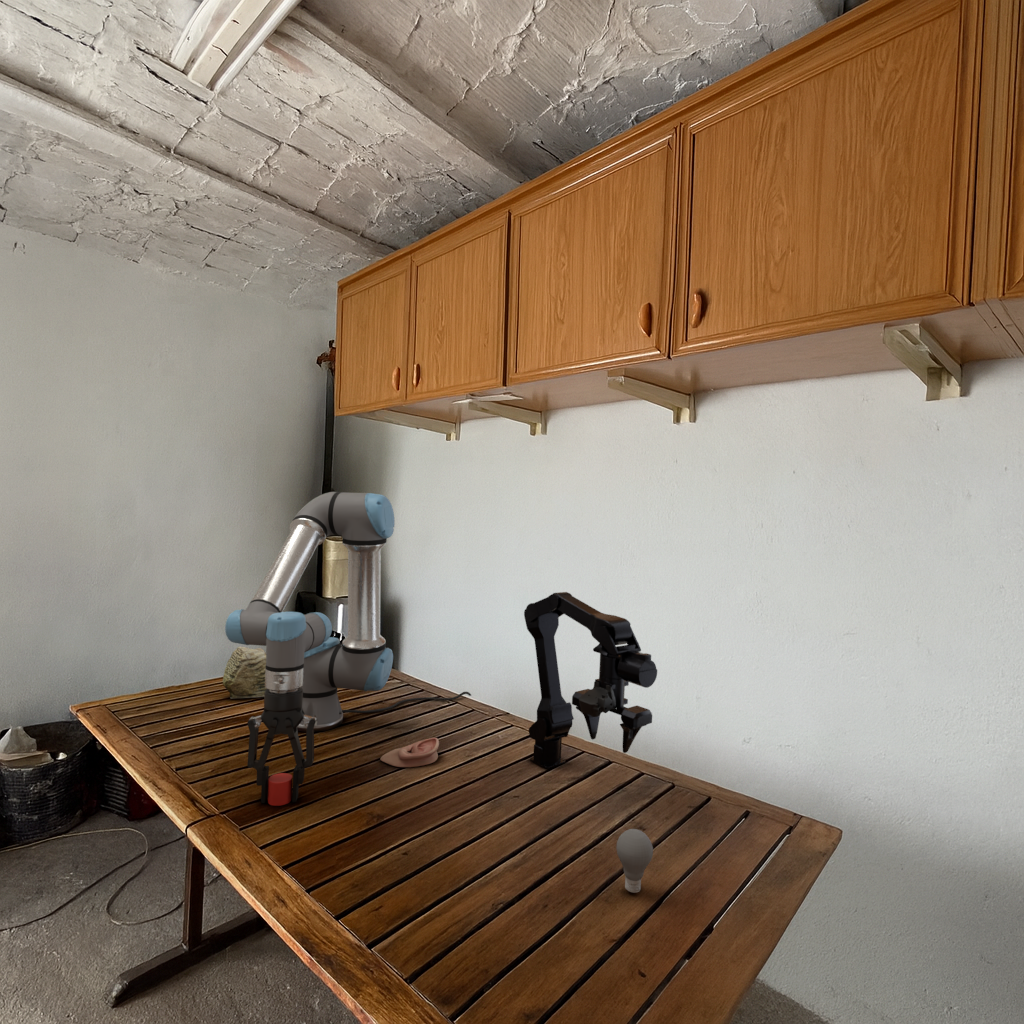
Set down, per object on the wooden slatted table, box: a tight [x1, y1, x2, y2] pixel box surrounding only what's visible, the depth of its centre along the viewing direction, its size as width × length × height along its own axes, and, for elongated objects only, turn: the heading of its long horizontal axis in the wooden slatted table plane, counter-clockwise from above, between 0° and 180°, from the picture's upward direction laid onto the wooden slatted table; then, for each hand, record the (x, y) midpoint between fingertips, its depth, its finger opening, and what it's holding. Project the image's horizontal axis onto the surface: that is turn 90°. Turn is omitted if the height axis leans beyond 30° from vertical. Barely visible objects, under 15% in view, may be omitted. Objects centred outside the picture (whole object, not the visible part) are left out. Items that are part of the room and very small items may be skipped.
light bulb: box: [615, 828, 654, 894], centre depth 106 cm, size 6×6×10 cm
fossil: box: [222, 646, 267, 699], centre depth 198 cm, size 9×18×15 cm, turn 132°
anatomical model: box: [379, 737, 440, 768], centre depth 155 cm, size 13×4×12 cm
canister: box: [267, 772, 293, 807], centre depth 131 cm, size 5×5×5 cm
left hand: (279, 799), depth 131 cm, fingers open, 5 cm apart
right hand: (608, 745), depth 140 cm, fingers open, 9 cm apart
